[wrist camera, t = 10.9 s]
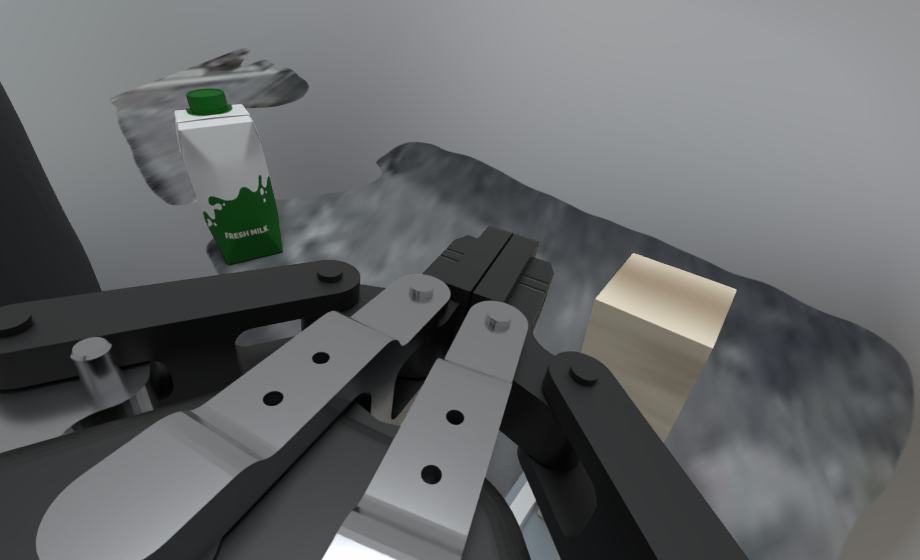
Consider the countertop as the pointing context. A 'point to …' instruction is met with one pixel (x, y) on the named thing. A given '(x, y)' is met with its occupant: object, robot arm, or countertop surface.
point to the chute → (531, 521)
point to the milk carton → (229, 175)
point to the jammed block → (656, 334)
